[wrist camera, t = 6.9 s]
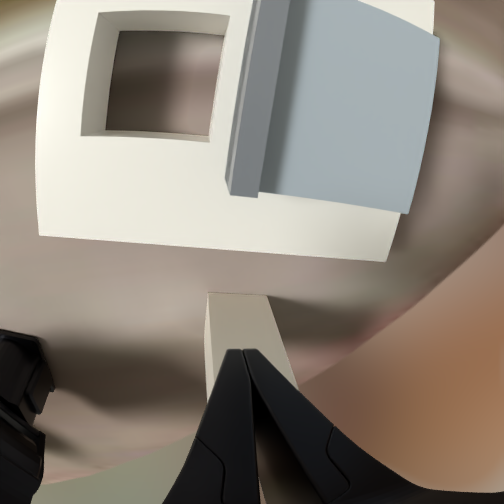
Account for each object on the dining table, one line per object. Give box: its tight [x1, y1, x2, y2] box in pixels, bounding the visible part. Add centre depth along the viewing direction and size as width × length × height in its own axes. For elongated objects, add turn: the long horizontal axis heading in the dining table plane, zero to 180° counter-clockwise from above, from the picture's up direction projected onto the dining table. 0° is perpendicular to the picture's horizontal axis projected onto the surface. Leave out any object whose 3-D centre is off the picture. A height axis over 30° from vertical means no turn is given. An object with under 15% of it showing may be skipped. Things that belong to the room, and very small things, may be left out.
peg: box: [204, 292, 299, 403], centre depth 18 cm, size 4×4×10 cm
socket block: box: [35, 0, 434, 262], centre depth 14 cm, size 19×16×4 cm
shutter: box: [225, 0, 440, 214], centre depth 11 cm, size 8×9×3 cm
